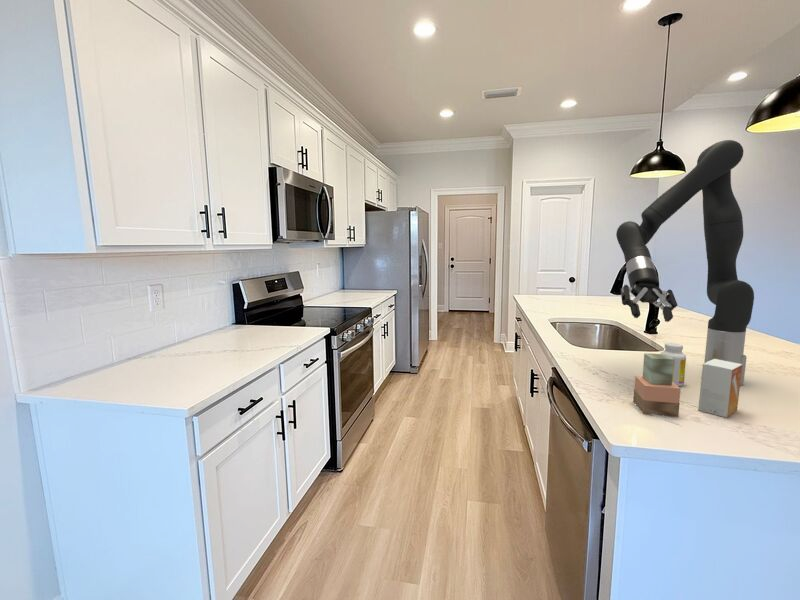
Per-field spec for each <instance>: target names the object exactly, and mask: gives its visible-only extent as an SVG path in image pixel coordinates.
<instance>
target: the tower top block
mask: <svg viewBox="0 0 800 600" xmlns="http://www.w3.org/2000/svg"><path fill="white" fill-rule="evenodd" d="M633 387H634V389H633V391H634V390H635V391H636V392H637V393H638V394H639V395H640V397H641V398H642V399H643V400H646V401H657V402H669V403H680V400H681V389H682V388H680V386H677V385H676V384H675V383H673V382H672V385H659V384H650V383H649V382H647V381H646V380H645V379H643V375H642V376H641V375H634V386H633Z"/></svg>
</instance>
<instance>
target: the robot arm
mask: <svg viewBox="0 0 800 600" xmlns="http://www.w3.org/2000/svg"><path fill="white" fill-rule="evenodd" d="M743 157H744V148H743V145H742V144H741V143H740V142H738V141H736V140H733V139H726V140H721V141H718V142H715V143H713V144H712V145H710V146H708V147H707V148H705V149H704V150H703V151H701V152H700V154H699V156H698V158H697V161H696V162H697V163H696V165H695V167H694V168H692V169H691V170H690V171H689V172H688V173H687V174H686V175H685V176H684V177H683V178H682V179H680V180H679V181H677V183H675V184H674V185H672V186H671V187H670V188H669V189H667V190H666V191H665V192H663V193H662V194H661V195H660V196H658V197H657V198H656V199H655V200H654V201H653V202H652V203H650V205H648V207H646V208H645V209H644V210H643V211H642V213H641V215H640V216H641V219H642V220H641V223H640V225H639V223H637V222H635V221H632V220H630V221H624V222H623V223H621V224H620V225H619V226H618V227H617V229H616V239H617V242H618V244H619V247H620V248H621V251H622V253H623V258H624V261H625V265H626V267H625V268H626V274H627V278H628V283H629V285H628V284H624V285H623V286H622V287H621V288H620V296H621V303H622V305H623V306H628V307H629V308H630V311H631V316H632V317H633V318H634V319H638V318H639V317H640V316H641V310H640V306H639V302H641V303H644V304H645V303H648V304H653V305H654V306H655V307H657V308H660V310H661V311H662V316H663V319H664V322H666V323H669V322H670V321H672V319H673V318H674V315H673V312H672V311H673V310H674V309H676V308H677V307H678V302H677V299H676V297H675V295H674V292H673V290H671V289H667V290H662V289H661V288H660V280H659V277H658V273H657V270H656V267H655V263H654V262H653V260H652V255H651V252H650V250H649V248H648V246H647V245H648V243H649V242H650V241H651V240H652V238H653V237H654V236H655V234H656V233H657V232H658V230H659V229H660V227H661V226H662V225H663V224H664V223H666V221H667V220H669V219H670V218H671V217H672V216H673V215H674V214H676V213H677V212H678V211H679V210H680V209H681V208H682V207H683V206H684V205H685V204H686V203H688V202H689V201H690V200H691V199H692V198H693V197H694V196H695V195H696V194H699V192H702V214H703V215H702V216H703V231H704V242H705V251H706V260H707V261H706V263H707V277H706V278H707V281H706V282H707V283H706V296H707V298H708V300H709V301H710V302H711V303H712V304H714V306H715V308H714V314H713V316H712V317H711V318H709V319H708V322H707V331H706V332H707V334H706V342H705V343H706V344H705V351H704V352H705V353H704V360H703V364H704V363H706V362H708V361H710V360H713V359H718V360H723V361H729V362H734V363H739V364H743V366H742V374H741V382H740V386H744V382H745V377H746V376H745V374H746V368H747V367H746V365H747V355H745V353H744V351H745V342H746V334H747V327H748V325H749V324H750V322H751V320H752V313H753V309H754V303H755V302H754V300H755V292H754V289H753V287H752V286H751V284H750V283H748V282H746V281H743V280H739V279H738V273H737V258H738V255H739V252H740V249H741V245H742V244H743V239H744V221H743V220H744V219H743V213H742V210H741V207H740V205H739V203H738V200H737V199H736V197H735V194H734V192H733V189H732V188H733V187H732V170H733V169H734V168H735V167H736V166H737V165H738V164H739V163H740V162H741V161H742V159H743ZM630 294H632V295H633V296H634V298H633V299H631V295H630Z"/></svg>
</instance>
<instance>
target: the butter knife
mask: <svg viewBox="0 0 800 600" xmlns="http://www.w3.org/2000/svg"><path fill="white" fill-rule="evenodd" d="M632 407H633V408H635V409H637V410H639V411H641V410H640V409H639V407H638V406H636V405H635V404H634V405H632ZM649 415H651V416H653V417H655V416H656V417H655V418H658V417H659V418H658V419H661V418H662V419H661V420H663V419H664V420H663V421H666V422H668V423H671V424H674V425H676V426H678V425H679V427H681V426H680V425H681V424H679V423H677V422H675V421H673V420H670V419H668V418H665V416H663V415H657V414H649Z"/></svg>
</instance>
